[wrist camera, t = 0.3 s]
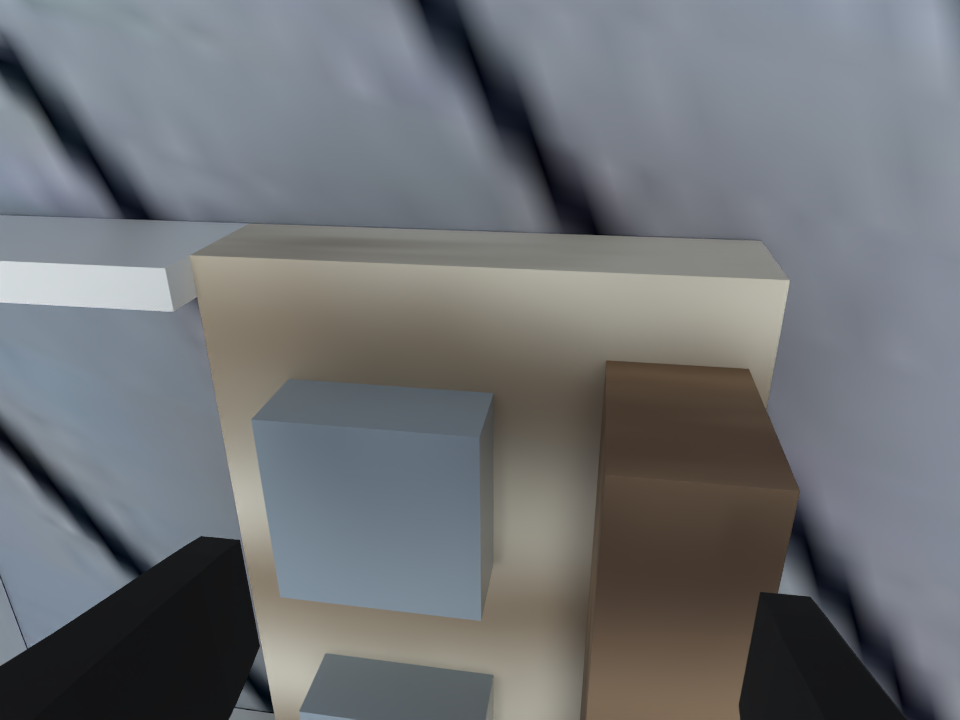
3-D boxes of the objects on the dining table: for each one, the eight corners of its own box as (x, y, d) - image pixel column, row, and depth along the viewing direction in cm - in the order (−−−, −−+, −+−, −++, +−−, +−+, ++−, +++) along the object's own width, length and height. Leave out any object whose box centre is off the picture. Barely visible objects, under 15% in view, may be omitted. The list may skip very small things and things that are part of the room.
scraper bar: (670, 838, 22) (684, 1021, 18) (572, 823, 22) (564, 998, 18) (748, 368, 15) (800, 491, 11) (606, 360, 16) (605, 474, 12)
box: (324, 738, 27) (281, 846, 24) (22, 694, 29) (-60, 786, 26) (249, 223, 19) (165, 268, 15) (-167, 209, 21) (-328, 245, 17)
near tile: (493, 563, 18) (481, 620, 17) (310, 544, 19) (280, 597, 17) (493, 393, 16) (479, 437, 15) (288, 379, 17) (250, 419, 15)
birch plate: (672, 790, 25) (680, 880, 23) (324, 738, 27) (293, 816, 25) (761, 240, 17) (790, 280, 14) (249, 223, 19) (189, 255, 16)
